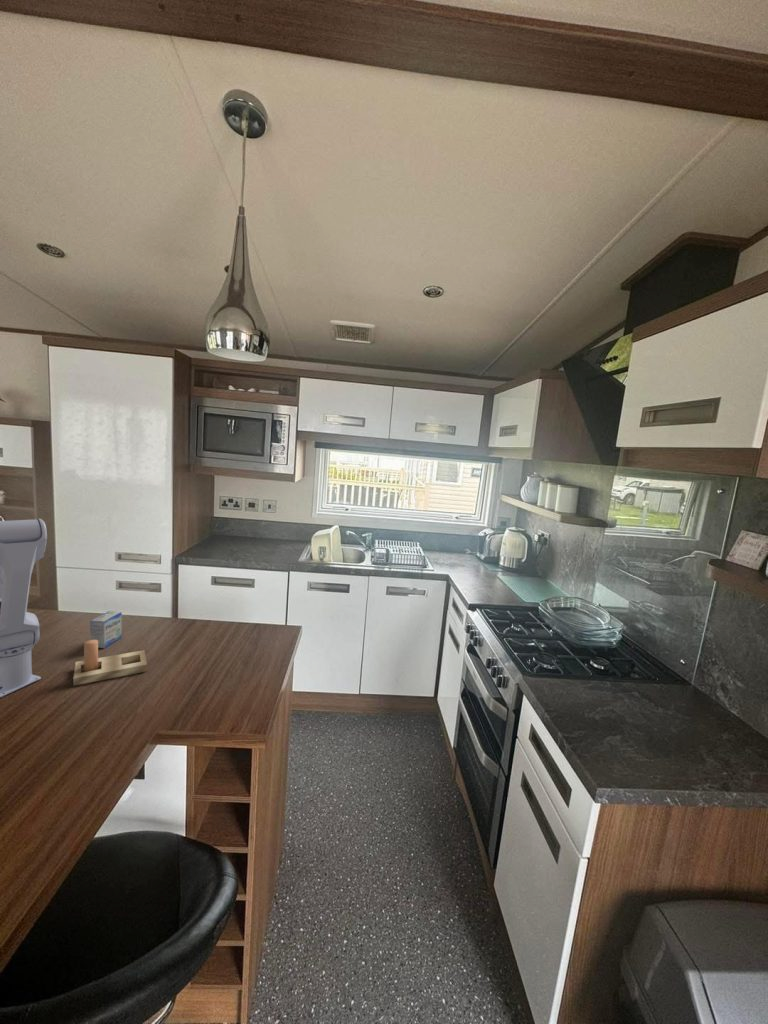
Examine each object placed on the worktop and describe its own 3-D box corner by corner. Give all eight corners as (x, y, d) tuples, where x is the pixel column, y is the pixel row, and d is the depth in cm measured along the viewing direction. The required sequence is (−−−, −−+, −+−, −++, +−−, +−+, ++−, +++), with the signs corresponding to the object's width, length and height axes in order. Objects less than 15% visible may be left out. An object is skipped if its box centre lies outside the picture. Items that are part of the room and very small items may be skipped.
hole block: (73, 685, 100) (73, 678, 100) (75, 668, 107) (75, 661, 107) (146, 671, 109) (146, 664, 109) (144, 656, 117) (144, 650, 116)
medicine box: (104, 649, 119) (104, 621, 118) (89, 647, 119) (89, 620, 118) (122, 637, 127) (122, 611, 125) (108, 636, 127) (108, 610, 126)
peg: (90, 678, 104) (90, 645, 103) (81, 675, 105) (81, 643, 104) (100, 672, 107) (100, 641, 106) (92, 670, 108) (92, 638, 106)
